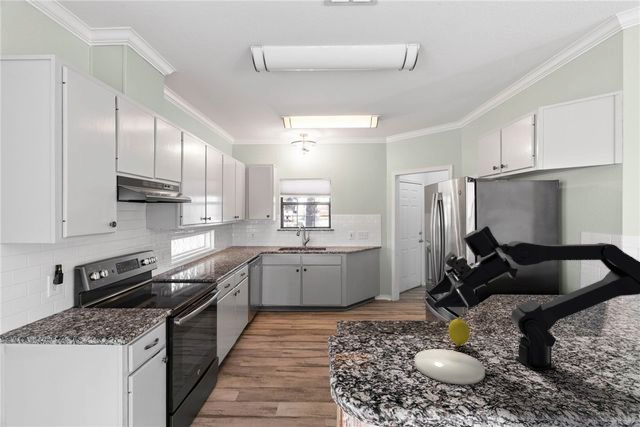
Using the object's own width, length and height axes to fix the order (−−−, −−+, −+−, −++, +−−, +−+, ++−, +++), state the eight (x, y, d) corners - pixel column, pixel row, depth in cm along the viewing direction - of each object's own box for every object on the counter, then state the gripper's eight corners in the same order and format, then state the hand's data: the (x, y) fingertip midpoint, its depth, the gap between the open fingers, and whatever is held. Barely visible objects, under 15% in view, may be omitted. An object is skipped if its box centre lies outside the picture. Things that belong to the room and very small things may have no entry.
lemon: (471, 350, 90) (471, 321, 90) (450, 349, 91) (450, 320, 91) (466, 343, 96) (466, 315, 96) (446, 341, 97) (447, 314, 97)
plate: (460, 352, 89) (460, 347, 89) (500, 381, 73) (500, 376, 73) (404, 355, 87) (404, 350, 87) (433, 386, 71) (433, 381, 71)
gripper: (459, 239, 95) (412, 265, 98) (477, 253, 77) (419, 285, 80) (480, 271, 95) (432, 297, 98) (503, 293, 76) (443, 323, 80)
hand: (431, 299), depth 89 cm, fingers open, 9 cm apart
